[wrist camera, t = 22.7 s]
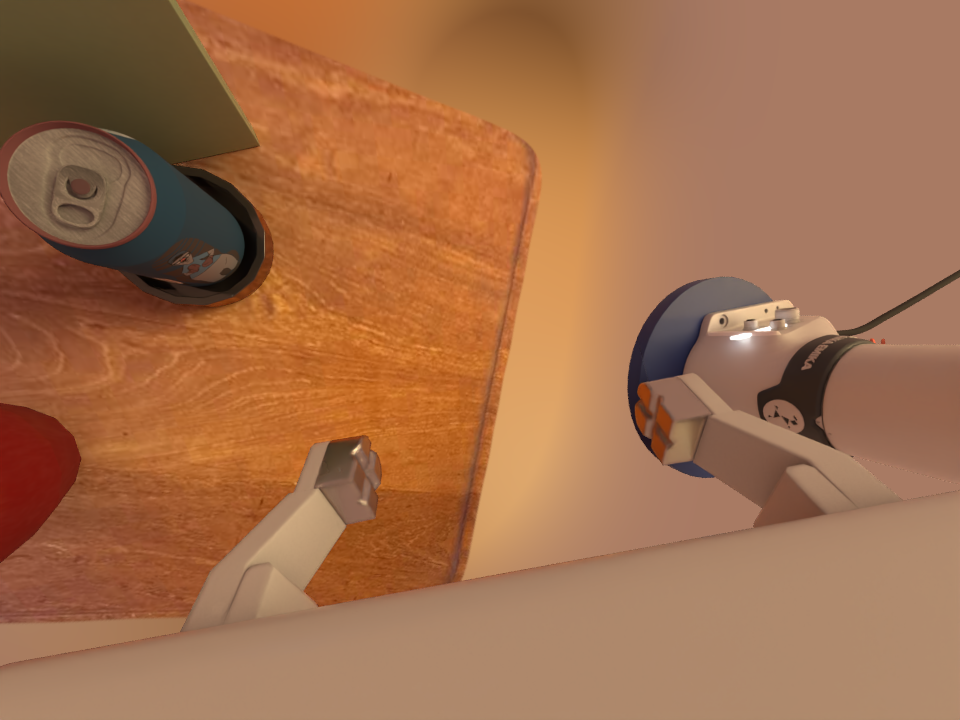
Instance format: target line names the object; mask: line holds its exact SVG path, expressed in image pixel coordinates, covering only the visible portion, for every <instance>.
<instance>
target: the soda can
mask: <svg viewBox="0 0 960 720" xmlns="http://www.w3.org/2000/svg"><path fill="white" fill-rule="evenodd" d="M0 194H1V196H2V198H3V200H4V202H5V204H6V205H7V207H8V208H9V209H10V211H11V212H12V213H13V214H14V215H15V216H16V217H17V218H18V219H19V220H20V221H21V222H22V223H23V224H24V225H25V226H27V227H28V228H29V229H31V230H32V231H34V232H35V233H37V234H38V235H39V236H40V237H41V238H42V239H44V240H45V241H46V242H47V243H48V244H50V245H51V246H53V247H54V248H56V249H57V250H59V251H60V252H62V253H64V254H66V255H68V256H70V257H72V258H75V259H77V260H80V261H83V262H86V263H90V264H94V265H98V266H102V267H107V268H111V269H115V270H120V271H124V272H128V273H133V274H137V275H141V276H146V277H150V278H154V279H159V280H163V281H168V282H172V283H176V284H181V285H185V286H194V287H199V286H208V285H213V284H216V283H219V282H221V281H223V280H225V279H226V278H228V277H229V276H230V275H232V274H233V273H234V272H235V271H236V269H237V268H238V267H239V265H240V263H241V261H242V258H243V255H244V248H245V244H244V237H243V233H242V230H241V228H240V226H239V224H238V222H237V221H236V219H235V218H234V217H233V215H232V214H231V213H230V212H229V211H228V210H227V209H226V208H224V207H223V206H222V205H221V204H219V203H218V202H217V201H216V200H214V199H213V198H212V197H211V196H209V195H208V194H207V193H206V192H204V191H203V190H202V189H201V188H199V187H198V186H197V185H196V184H194V183H193V182H192V181H191V180H189V179H188V178H187V177H186V176H184V175H183V174H182V173H181V172H179V171H178V170H177V169H176V168H174V167H173V166H172V165H171V164H169V163H168V162H167V161H166V160H164V159H163V158H162V157H161V156H159V155H158V154H157V153H156V152H154V151H153V150H152V149H150V148H149V147H147V146H146V145H144V144H143V143H141V142H139V141H137V140H135V139H134V138H131V137H129V136H127V135H124V134H121V133H118V132H115V131H111V130H107V129H102V128H96V127H93V126H90V125H87V124H83V123H79V122H73V121H46V122H40V123H36V124H33V125H30V126H28V127H25V128H23V129H21V130H19V131H18V132H16V133H15V134H13V135H12V136H11V137H10V138H9V139H7V141H6V142H5V143H4V144H3V146H2V147H1V149H0Z"/></svg>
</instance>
